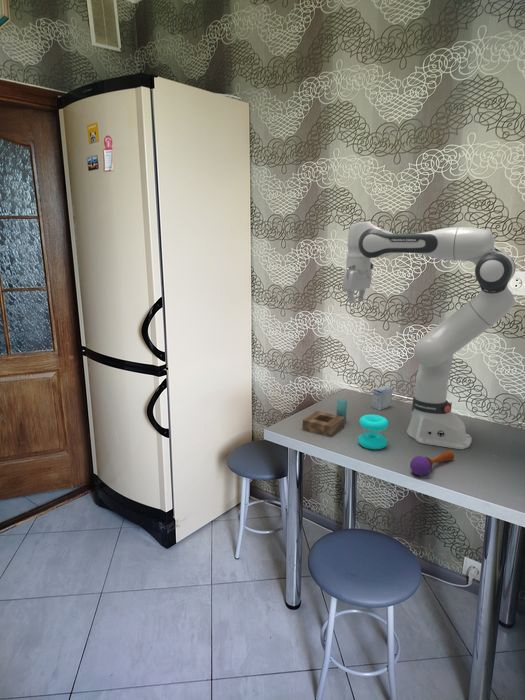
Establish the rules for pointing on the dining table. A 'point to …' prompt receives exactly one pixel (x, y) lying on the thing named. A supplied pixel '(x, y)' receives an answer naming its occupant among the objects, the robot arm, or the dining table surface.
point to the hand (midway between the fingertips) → (356, 301)
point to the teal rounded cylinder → (341, 408)
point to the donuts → (372, 438)
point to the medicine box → (382, 397)
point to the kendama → (428, 462)
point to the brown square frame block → (323, 423)
